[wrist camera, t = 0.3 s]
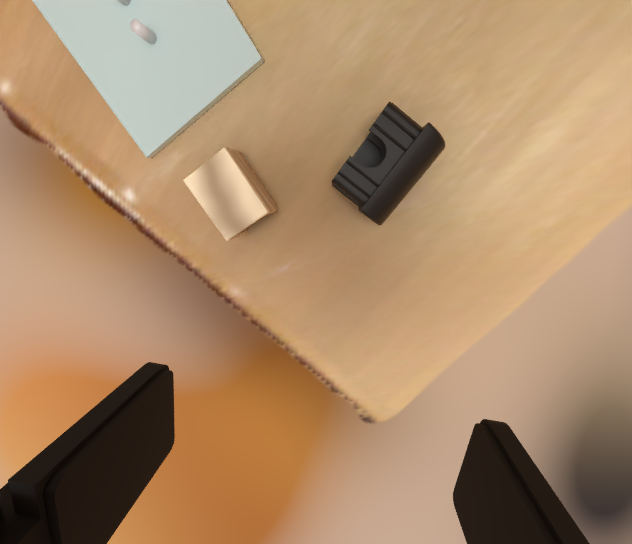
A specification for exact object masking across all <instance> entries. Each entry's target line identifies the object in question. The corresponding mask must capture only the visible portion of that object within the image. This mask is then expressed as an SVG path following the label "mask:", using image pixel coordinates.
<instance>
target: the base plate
mask: <svg viewBox="0 0 632 544" xmlns="http://www.w3.org/2000/svg"><path fill="white" fill-rule="evenodd" d="M32 1H33V2H34V3H35V5H36V6H37V7H38V9H39V10H40V12H41V13H42V14H43V16H44V17H45V18H46V20H47V21H48V23H49V24H50V25H51V27H52V28H53V29H54V31H55V32H56V34H57V35H58V36H59V38H60V39H61V40H62V42H63V43H64V45H65V46H66V47H67V49H68V50H69V51H70V53H71V54H72V56H73V57H74V58H75V60H76V61H77V62H78V64H79V65H80V67H81V68H82V69H83V71H84V72H85V73H86V75H87V76H88V78H89V79H90V80H91V82H92V83H93V84H94V86H95V87H96V89H97V90H98V91H99V93H100V94H101V95H102V97H103V98H104V100H105V101H106V102H107V104H108V105H109V106H110V108H111V109H112V111H113V112H114V113H115V115H116V116H117V117H118V119H119V120H120V122H121V123H122V124H123V126H124V127H125V128H126V130H127V131H128V133H129V134H130V135H131V137H132V138H133V139H134V141H135V142H136V144H137V145H138V146H139V148H140V149H141V150H142V152H143V153H144V155H145V156H146V157H148V158H152V157H154V156H155V155H156V154H157V153H158V152H160V151H161V150H162V149H163V148H164V147H165V146H167V145H168V144H169V143H170V142H171V141H172V140H174V139H175V138H176V137H177V136H178V135H179V134H181V133H182V132H183V131H184V130H185V129H186V128H188V127H189V126H190V125H191V124H192V123H193V122H195V121H196V120H197V119H198V118H199V117H200V116H202V115H203V114H204V113H205V112H206V111H207V110H209V109H210V108H211V107H212V106H213V105H214V104H216V103H217V102H218V101H219V100H220V99H221V98H223V97H224V96H225V95H226V94H227V93H228V92H230V91H231V90H232V89H233V88H234V87H235V86H237V85H238V84H239V83H240V82H241V81H242V80H244V79H245V78H246V77H247V76H248V75H249V74H251V73H252V72H253V71H254V70H255V69H256V68H258V67H259V66H260V65H261V64H262V63H263V62H264V60H263V59H262V57H261V56H260V54H259V52H258V51H257V49H256V47H255V46H254V44H253V42H252V41H251V39H250V38H249V36H248V34H247V33H246V31H245V29H244V28H243V26H242V25H241V23H240V21H239V20H238V18H237V16H236V15H235V13H234V11H233V10H232V8H231V7H230V5H229V3H228V2H227V0H32Z"/></svg>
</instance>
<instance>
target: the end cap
mask: <svg viewBox="0 0 632 544" xmlns="http://www.w3.org/2000/svg"><path fill="white" fill-rule="evenodd" d="M369 131H370V133H369V135H368V136H367V137H366V140H365V141H364V142H363V144H362V145H361V146H360V148H359V149H358V151H357V152H356V153H355V155H354V156H353V157H351V156H350V157H349V158H348V159H347V161H346V162H345V164H344V165H343V166H342V168H341V169H340V170H339V172H338V173H337V175H336V176H335V177H334V179H333V180H332V186H333V187H335V188H336V189H337V190H338V191H340V192H341V193H342V194H344V195H345V196H346V197H347V198H349V199H350V200H351V201H352V202H354V203H355V204H356V205H358V206H359V207H358V209H359V211H360V212H362V213H363V214H364V215H366V216H367V217H368V218H370V219H371V220H372V221H374V222H375V223H377V224H378V225H382V224H383V223H384V221H385V220H386V219H387V218H388V216H389V215H390V214H391V213H392V212H393V210H394V209H395V208H396V207H397V205H398V204H399V203H400V202H401V201H402V199H403V198H404V197H405V196H406V195H407V193H408V192H409V191H410V190H411V188H412V187H413V186H414V185H415V184H416V182H417V181H418V180H419V179H420V178H421V176H422V175H423V174H424V173H425V171H426V170H427V169H428V168H429V167H430V165H431V164H432V163H433V162H434V161H435V159H436V158H437V157H438V156H439V154H440V153H441V152H442V151H443V150H444V148H445V141H444V139H443V137H442V136H441V134H440V133H439V132H438V131H437V130H436V129H435V128H434V127H433V126H432V125H431V124H430V123H427V124H426V125H425V126H424V127H423V128H422V127H421V126H419V125H418V124H417V123H416V122H415V121H413V120H412V119H411V118H410V117H409V116H407V115H406V114H405V113H404V112H403V111H401V110H400V109H399V108H398V107H397V106H395V105H394V104H393V103H391V102H389V103H388V104H387V106H386V107H385V108H384V110H383V111H382V113H381V114H380V115H379V117H378V118H377V119H376V121H375V122H374V124H373V125H372V126H371V128H370V129H369Z"/></svg>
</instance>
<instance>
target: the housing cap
mask: <svg viewBox="0 0 632 544" xmlns="http://www.w3.org/2000/svg"><path fill="white" fill-rule="evenodd" d="M183 181H184V182H185V183H186V185H187V186H188V188H189V189H190V190H191V192H192V193H193V195H194V196H195V197H196V199H197V200H198V202H199V203H200V204H201V206H202V207H203V209H204V210H205V211H206V213H207V214H208V216H209V217H210V218H211V220H212V221H213V223H214V224H215V225H216V227H217V228H218V230H219V231H220V232H221V234H222V235H223V237H224V238H225V239H226V241H228V240H230V239H233V238H235V237H237V236H240V235H242V234H243V233H245V232H246V231H248V230H247V229H246V228H247V227H249V226H250V225H252V224H253V223H255V222H256V221H257V220H259V219H260V218H262V217H263V216H266V215H269V214H272V213H274V212H275V211H277V210H278V208H277V206H276V205H275V203H274V202H273V200H272V199H271V197H270V196H269V194H268V193H267V191H266V190H265V188H264V187H263V185H262V184H261V182H260V181H259V179H258V178H257V176H256V175H255V173H254V172H253V170H252V169H251V167H250V166H249V164H248V163H247V161H246V160H245V158H244V157H243V155H242V154H241V153H240V152H237V151H234V150H231V149H228V148H225V147H224V148H223V149H222V150H220V151H219V152H218V153H217V154H215V155H214V156H213V157H212V158H210V159H209V160H208V161H207V162H206V163H204V164H203V165H202V166H201V167H199V168H198V169H197V170H196V171H194V172H193V173H192V174H191V175H189V176H188V177H187V178H186V179H184V180H183Z"/></svg>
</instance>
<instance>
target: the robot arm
mask: <svg viewBox="0 0 632 544" xmlns="http://www.w3.org/2000/svg"><path fill="white" fill-rule="evenodd" d="M173 444H174V389H173V372H172V371H169V367H168V366H167V365H162V364H157V363H151V362H149V363H147V364H145V365H144V366H142V367H141V368H140V369H139V370H138V371H136V372H135V373H134V374H133V375H132V376H131V377H129V378H128V379H127V380H126V381H125V382H124V383H122V384H121V385H120V386H119V387H118V388H116V389H115V390H114V391H113V392H112V393H110V394H109V395H108V396H107V397H106V398H105V399H103V400H102V401H101V402H100V403H99V404H98V405H96V406H95V407H94V408H93V409H91V410H90V411H89V412H88V413H87V414H86V415H84V416H83V417H82V418H81V419H80V420H79V421H77V422H76V423H75V424H74V425H73V426H71V427H70V428H69V429H68V430H67V431H66V432H64V433H63V434H62V435H61V436H60V437H58V438H57V439H56V440H55V441H54V442H53V443H51V444H50V445H49V446H48V447H47V448H45V449H44V450H43V451H42V452H41V453H40V454H38V455H37V456H36V457H35V458H33V459H32V460H31V461H30V462H29V463H28V464H26V465H25V466H24V467H23V468H22V469H20V471H18V472H17V473H16V474H15V475H14V476H12V477H11V478H10V479H9V480H8V483H7V484H6V485H5V486H4V487H3V488H1V489H0V544H107V542H108V541H109V539H110V538H111V536H112V535H113V534H114V532H115V531H116V529H117V528H118V526H119V525H120V523H121V522H122V520H123V519H124V518H125V516H126V515H127V513H128V512H129V510H130V509H131V507H132V506H133V505H134V503H135V502H136V500H137V499H138V497H139V496H140V494H141V493H142V491H143V490H144V489H145V487H146V486H147V484H148V483H149V481H150V480H151V478H152V477H153V476H154V474H155V473H156V471H157V470H158V468H159V466H160V465H161V464H162V462H163V461H164V459H165V458H166V457H167V455H168V454H169V452H170V451H171V449H172V446H173ZM453 501H454V506H455V509H456V512H457V515H458V518H459V521H460V524H461V527H462V530H463V533H464V536H465V539H466V542H467V544H589V542H588V541H587V539H586V538H585V536H584V535H583V534H582V532H581V531H580V529H579V528H578V526H577V525H576V523H575V522H574V520H573V519H572V518H571V516H570V515H569V513H568V512H567V510H566V509H565V507H564V506H563V504H562V503H561V501H560V500H559V498H558V497H557V496H556V494H555V493H554V491H553V490H552V488H551V487H550V485H549V484H548V482H547V481H546V479H545V478H544V477H543V475H542V474H541V472H540V471H539V469H538V468H537V466H536V465H535V464H534V462H533V461H532V459H531V458H530V456H529V455H528V453H527V452H526V450H525V449H524V447H523V446H522V444H521V443H520V442H519V440H518V439H517V437H516V436H515V434H514V433H513V431H512V430H511V429H510V427H509V426H508V425H507V424H506V423H504V422H499V421H493V420H487V419H483V420H482V421H481V422H480V424H478V423H477V424H475V426H474V429H473V432H472V435H471V438H470V441H469V444H468V447H467V451H466V454H465V457H464V460H463V463H462V466H461V470H460V472H459V476H458V479H457V482H456V485H455V488H454V492H453Z"/></svg>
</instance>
